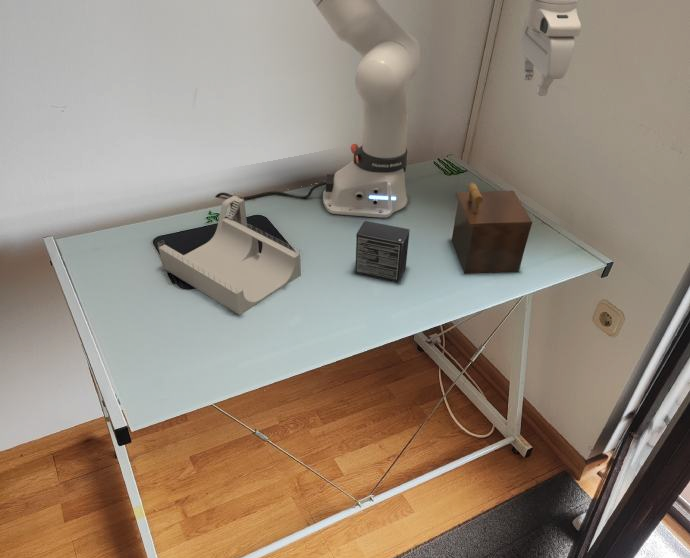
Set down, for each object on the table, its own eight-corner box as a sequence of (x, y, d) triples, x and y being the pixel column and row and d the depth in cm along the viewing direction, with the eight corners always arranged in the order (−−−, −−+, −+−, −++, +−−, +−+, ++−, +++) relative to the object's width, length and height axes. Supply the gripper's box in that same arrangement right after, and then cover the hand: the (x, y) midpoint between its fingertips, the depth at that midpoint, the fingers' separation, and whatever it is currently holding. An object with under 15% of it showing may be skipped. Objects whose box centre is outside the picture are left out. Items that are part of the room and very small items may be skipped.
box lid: (469, 227, 123) (473, 205, 119) (455, 195, 133) (458, 174, 129) (531, 225, 124) (537, 204, 120) (512, 193, 133) (517, 173, 130)
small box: (407, 267, 132) (411, 227, 125) (399, 284, 128) (403, 243, 121) (362, 258, 135) (364, 218, 128) (353, 274, 130) (355, 233, 123)
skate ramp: (163, 268, 131) (154, 229, 124) (238, 227, 144) (233, 190, 137) (239, 315, 119) (234, 275, 112) (313, 266, 132) (312, 228, 125)
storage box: (464, 274, 131) (473, 226, 123) (451, 241, 141) (459, 195, 133) (518, 272, 132) (531, 225, 124) (502, 239, 142) (512, 193, 134)
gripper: (519, 2, 124) (506, 70, 133) (552, 29, 109) (534, 104, 118) (548, 2, 124) (533, 70, 134) (585, 29, 109) (564, 104, 119)
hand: (534, 86), depth 126 cm, fingers open, 8 cm apart
